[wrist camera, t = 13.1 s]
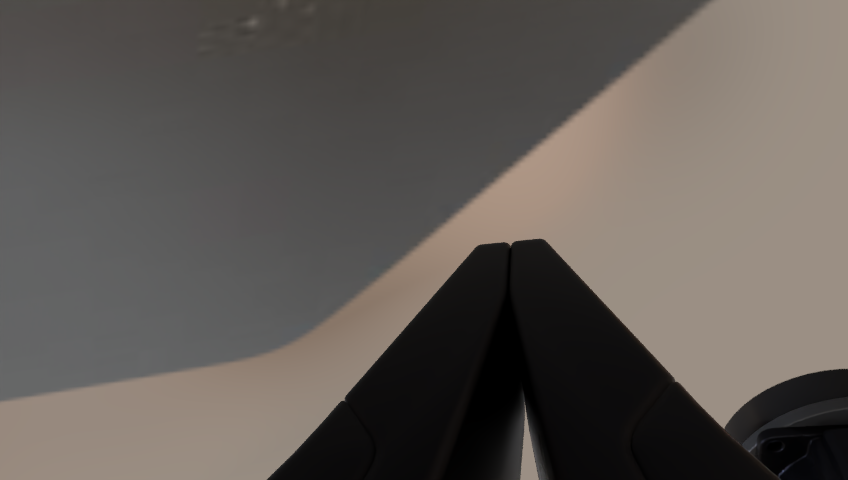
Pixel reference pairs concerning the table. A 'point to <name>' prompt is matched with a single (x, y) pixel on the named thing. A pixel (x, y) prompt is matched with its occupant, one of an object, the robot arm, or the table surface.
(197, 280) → the table surface
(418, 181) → the table surface
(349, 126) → the table surface
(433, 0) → the table surface
